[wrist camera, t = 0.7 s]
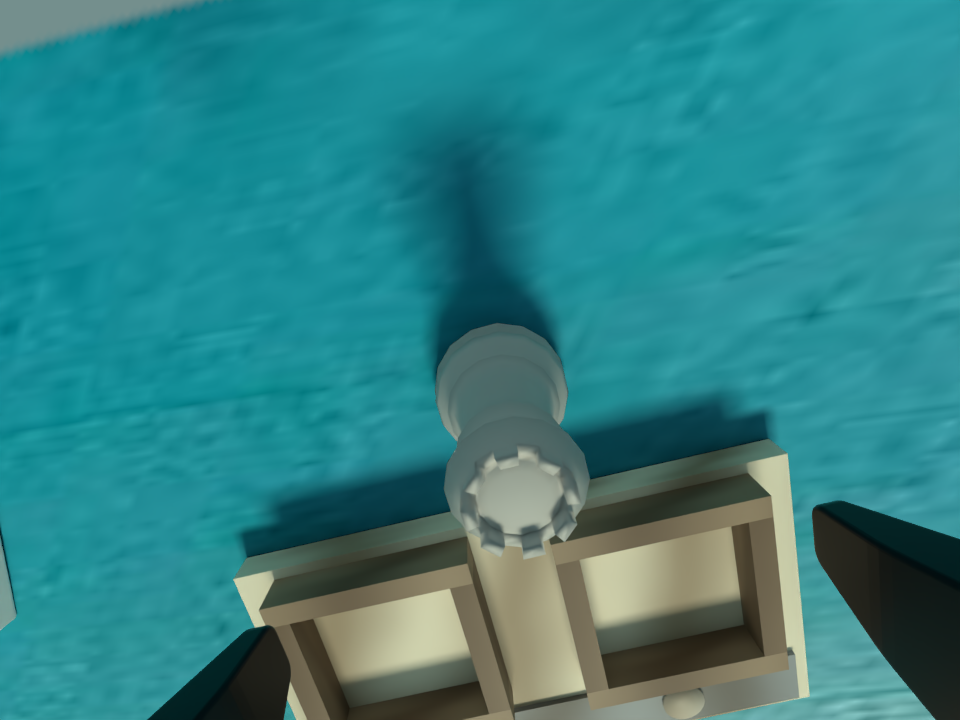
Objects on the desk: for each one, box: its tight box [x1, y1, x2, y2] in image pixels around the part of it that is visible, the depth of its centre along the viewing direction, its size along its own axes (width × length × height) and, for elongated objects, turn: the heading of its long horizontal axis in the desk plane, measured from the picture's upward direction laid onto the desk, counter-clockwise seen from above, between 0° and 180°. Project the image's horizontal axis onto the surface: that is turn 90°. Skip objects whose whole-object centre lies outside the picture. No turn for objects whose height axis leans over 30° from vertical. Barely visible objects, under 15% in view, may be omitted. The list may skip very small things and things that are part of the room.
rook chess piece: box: [435, 323, 590, 560], centre depth 15 cm, size 4×4×8 cm
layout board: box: [233, 439, 809, 720], centre depth 20 cm, size 20×11×3 cm, turn 104°
